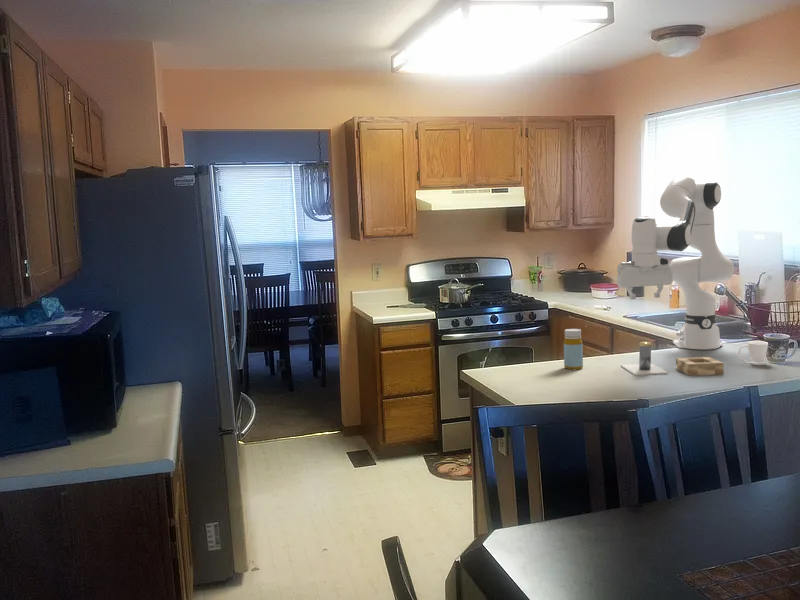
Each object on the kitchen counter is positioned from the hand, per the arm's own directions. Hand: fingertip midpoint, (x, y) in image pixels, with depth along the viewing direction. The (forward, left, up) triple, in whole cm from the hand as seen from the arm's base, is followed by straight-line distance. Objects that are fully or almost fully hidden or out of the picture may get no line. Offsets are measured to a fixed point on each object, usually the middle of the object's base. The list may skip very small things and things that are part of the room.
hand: (644, 298), depth 249 cm
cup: (-2, +41, -27) cm, 49 cm away
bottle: (-8, -25, -27) cm, 38 cm away
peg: (+2, -1, -26) cm, 26 cm away
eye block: (+7, +17, -27) cm, 33 cm away
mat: (+1, -1, -27) cm, 27 cm away
